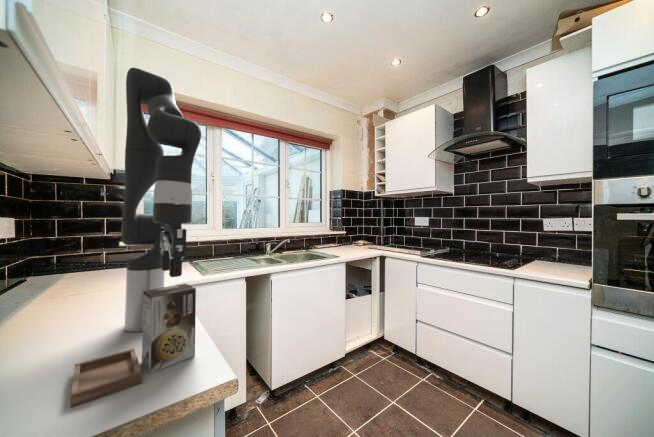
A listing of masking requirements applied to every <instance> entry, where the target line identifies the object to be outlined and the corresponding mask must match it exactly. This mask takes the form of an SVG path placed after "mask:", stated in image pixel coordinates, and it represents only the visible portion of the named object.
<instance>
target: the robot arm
mask: <svg viewBox="0 0 654 437" xmlns="http://www.w3.org/2000/svg"><path fill="white" fill-rule="evenodd" d="M125 98H126V119H127V120H126V137H125V149H124V151H125V152H124V196H123V197H124V199H123V208H122V216H121V228H120V236H121V241H122V243H123V244H124V245H126V246H147V245H148V246H149V245H150V246H151V245H152V248H151V249H149V250H148V251H146V252H144V253H142V254H139V255H135V256H133V257H131V258H128V260H127V261H126V273H125V274H126V276H125V277H126V278H125V307H124V308H125V309H124V311H125V312H124V330H125V331H126V332H131V333H134V332H135V333H136V332H138V333H139V332H143V291H146V290H152V289H157V288H163V287H165V272H166V271H168V272H169V277H170V278H177V277H181V276H182V275H183V259H184V258H186V257H187V231H188V230H187V229H186V228H183V227H182V224H190V223H191V222H192V212H193V205H192V204H193V191H192V171H193V163H194V160H195V155H196V152H197V150H198V147H199V145H200V142H201V138H202V132H201V131H202V130H201V128H200V125H199V124H198V123H197V122H196V121H195V120H191V119H189V118H186V117H184V115H183V113H182V111H181V110H180V108H179V107H178V106H177V102H176V97H175V93H174V88H173V86H172V84H171V82H169V81H168V80H167V79H166V78H164V77H162V76H159V75H157V74H154V73H151V72H149V71H146V70H143V69H140V68H137V67H130V68H129V69H128V71H127V73H126V79H125ZM143 105H146V106H147V112H148V113H147V114H148V115H149V119H148V120H147V119H146V117H145V114H144V110H143V107H142V106H143ZM163 146H166V147H172V148H177V149H181V152H180V154H176V155H174V154H173V155H172V154H171V155H167V154H166V155H165V154H164V153H165V152H164V149H163ZM153 186H154V190H153V205H152V207H153V208H152V213H137V210H138V207H139V205H140V202H141V201H142V199H143V198H144V196H146V194H147V193H148V191H149V190H150V189H151V188H152V187H153Z"/></svg>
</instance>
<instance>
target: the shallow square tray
mask: <svg viewBox="0 0 654 437" xmlns="http://www.w3.org/2000/svg"><path fill="white" fill-rule="evenodd" d="M140 384H142V369H141V366H140V363H139V359H138V356H137V352H136V349H135V348H132V349H128V350H123V351H120V352H119V351H118V352H116V353H112V354H108V355H106V356H102V357H98V358H97V357H96V358H94V359H90V360H86V361H82V362H79V363H75V364H74V370H73V378H72V384H71V385H72V387H71V393H70V408H75V407H76V406H77V407H78V406H80V405H82V404H85V403H88V402H91V401H94V400H98V399H99V398H103V397H106V396H108V395H111V394H115V393H117V392H120V391H123V390H126V389H128V388H132V387H135V386H137V385H140Z"/></svg>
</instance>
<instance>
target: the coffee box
mask: <svg viewBox="0 0 654 437" xmlns="http://www.w3.org/2000/svg"><path fill="white" fill-rule="evenodd" d="M196 297H197V288H196V287H193V286H192V285H190V284H188V283H182V284H181V283H180V284H175V285H169V286H164V287H163V288H157V289H152V290H146V291H143V331H141V332H142V333H141V334H142V338H141V339H142V343H141V345H142V346H141V349H142V350H141V363H142V365H143V366H144V367H145V369H146V370H147V372H148V373H149V374H152V373H155V372H158V371H160V370H163V369H165V368H168V367H170V366H173V365H176V364H177V363H180V362H182V361H185V360H188V359H190V358H192V357H195V356H196V307H197V306H196V301H197V298H196Z"/></svg>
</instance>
